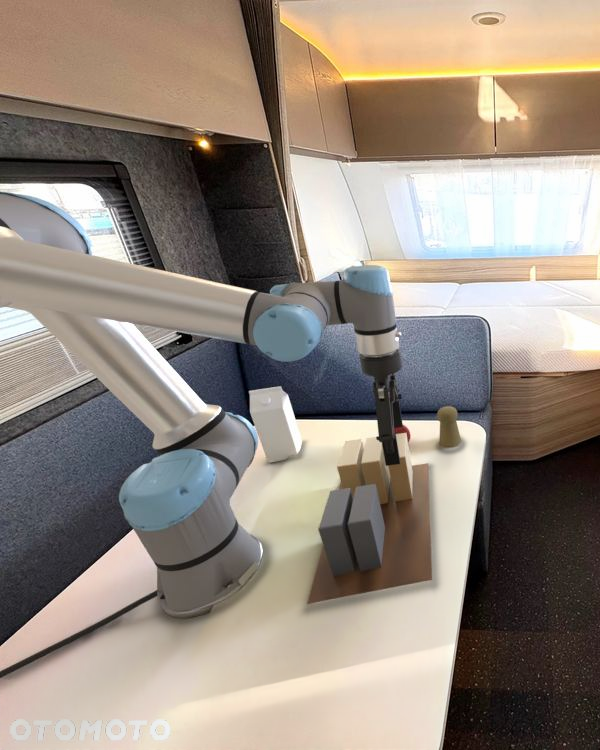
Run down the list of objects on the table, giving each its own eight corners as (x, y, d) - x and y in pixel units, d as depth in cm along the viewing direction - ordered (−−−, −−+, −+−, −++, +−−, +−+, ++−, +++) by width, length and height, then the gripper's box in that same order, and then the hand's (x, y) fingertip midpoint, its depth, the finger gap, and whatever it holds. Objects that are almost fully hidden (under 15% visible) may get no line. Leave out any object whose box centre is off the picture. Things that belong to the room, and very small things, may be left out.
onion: (416, 445, 103) (412, 419, 99) (401, 456, 98) (396, 430, 95) (401, 439, 106) (396, 413, 102) (385, 450, 101) (380, 424, 98)
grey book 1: (333, 576, 66) (318, 529, 62) (342, 534, 74) (329, 490, 70) (354, 572, 67) (341, 525, 62) (361, 531, 75) (350, 487, 70)
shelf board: (308, 608, 62) (306, 603, 62) (343, 479, 91) (342, 475, 90) (432, 584, 66) (432, 579, 65) (428, 467, 94) (428, 463, 94)
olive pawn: (458, 452, 99) (454, 416, 94) (436, 450, 100) (431, 414, 95) (464, 439, 104) (461, 404, 100) (443, 437, 105) (439, 402, 101)
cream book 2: (370, 505, 81) (360, 463, 77) (374, 477, 89) (366, 438, 85) (388, 502, 82) (379, 461, 77) (390, 475, 90) (383, 435, 85)
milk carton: (274, 447, 104) (252, 385, 96) (302, 442, 106) (283, 380, 98) (268, 463, 98) (244, 397, 90) (298, 457, 99) (278, 392, 91)
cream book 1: (348, 509, 81) (337, 467, 76) (354, 480, 89) (344, 441, 84) (366, 506, 81) (355, 464, 76) (370, 478, 89) (362, 438, 85)
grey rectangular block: (360, 571, 67) (347, 524, 62) (366, 530, 75) (355, 486, 70) (381, 567, 68) (370, 520, 63) (385, 527, 76) (375, 483, 71)
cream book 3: (395, 501, 82) (387, 459, 77) (397, 474, 90) (390, 434, 86) (412, 498, 83) (405, 457, 78) (412, 471, 91) (406, 432, 86)
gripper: (396, 375, 62) (412, 479, 71) (402, 329, 84) (413, 412, 93) (348, 380, 61) (370, 485, 70) (367, 331, 83) (381, 416, 92)
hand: (395, 444), depth 82 cm, fingers open, 13 cm apart
